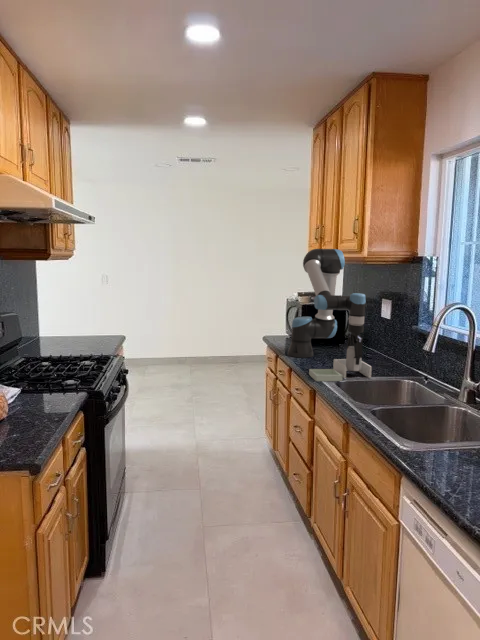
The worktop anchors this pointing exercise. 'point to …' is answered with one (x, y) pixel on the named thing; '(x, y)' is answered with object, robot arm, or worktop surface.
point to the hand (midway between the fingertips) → (353, 368)
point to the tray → (325, 375)
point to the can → (351, 359)
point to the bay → (341, 368)
